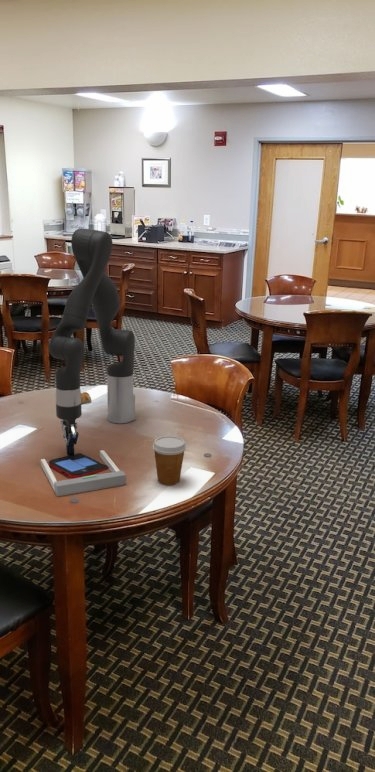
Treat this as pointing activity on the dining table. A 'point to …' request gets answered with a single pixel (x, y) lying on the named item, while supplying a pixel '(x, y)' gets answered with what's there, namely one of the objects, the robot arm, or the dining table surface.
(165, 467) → the disposable coffee cup
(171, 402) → the dining table surface
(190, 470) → the dining table surface
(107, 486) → the charging dock
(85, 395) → the pastry
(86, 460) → the game console
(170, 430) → the dining table surface
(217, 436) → the dining table surface
